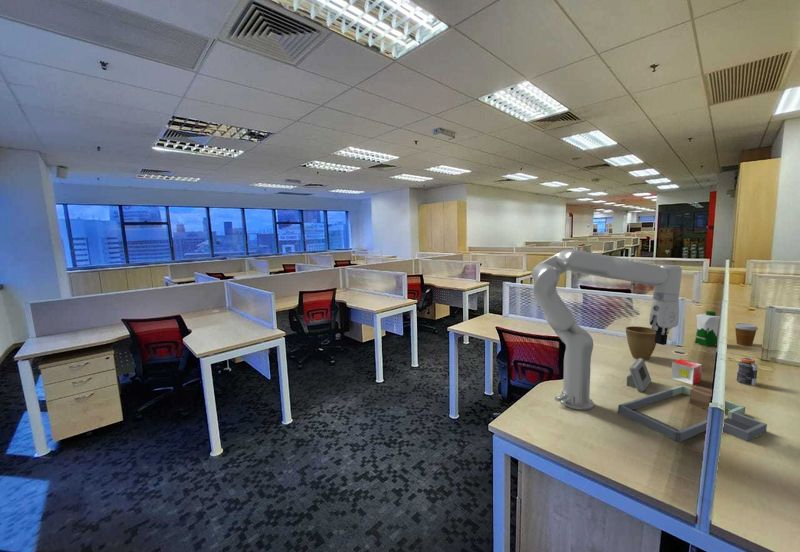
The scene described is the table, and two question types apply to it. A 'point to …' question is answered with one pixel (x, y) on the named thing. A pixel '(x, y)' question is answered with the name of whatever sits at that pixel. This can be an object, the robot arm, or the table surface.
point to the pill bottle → (747, 371)
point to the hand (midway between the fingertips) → (660, 343)
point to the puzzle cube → (686, 371)
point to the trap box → (732, 425)
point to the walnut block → (700, 397)
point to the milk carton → (707, 328)
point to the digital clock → (638, 375)
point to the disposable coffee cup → (745, 333)
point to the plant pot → (641, 341)
